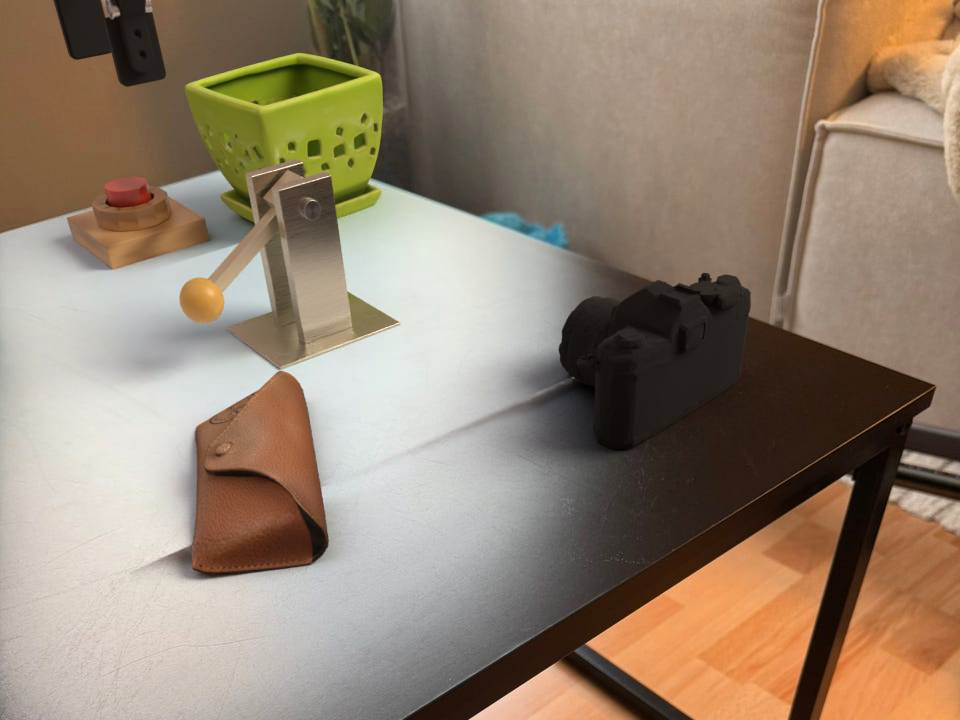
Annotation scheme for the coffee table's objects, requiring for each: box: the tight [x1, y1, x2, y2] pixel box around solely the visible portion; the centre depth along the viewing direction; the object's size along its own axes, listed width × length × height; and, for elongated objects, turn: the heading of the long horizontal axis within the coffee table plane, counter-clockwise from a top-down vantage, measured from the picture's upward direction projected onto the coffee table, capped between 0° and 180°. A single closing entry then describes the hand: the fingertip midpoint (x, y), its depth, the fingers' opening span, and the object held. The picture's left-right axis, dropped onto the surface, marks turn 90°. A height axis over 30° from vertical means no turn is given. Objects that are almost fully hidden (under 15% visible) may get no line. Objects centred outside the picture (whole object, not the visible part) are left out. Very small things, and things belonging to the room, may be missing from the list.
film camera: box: [558, 272, 752, 450], centre depth 70 cm, size 15×10×9 cm, turn 133°
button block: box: [66, 185, 210, 270], centre depth 98 cm, size 10×10×4 cm
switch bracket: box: [225, 159, 401, 371], centre depth 78 cm, size 11×9×13 cm
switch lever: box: [178, 170, 303, 324], centre depth 74 cm, size 13×3×3 cm
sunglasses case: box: [191, 370, 330, 575], centre depth 65 cm, size 18×7×7 cm
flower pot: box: [184, 52, 384, 224], centre depth 97 cm, size 14×14×13 cm
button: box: [103, 176, 152, 208], centre depth 96 cm, size 4×4×2 cm
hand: (116, 68), depth 71 cm, fingers open, 9 cm apart
